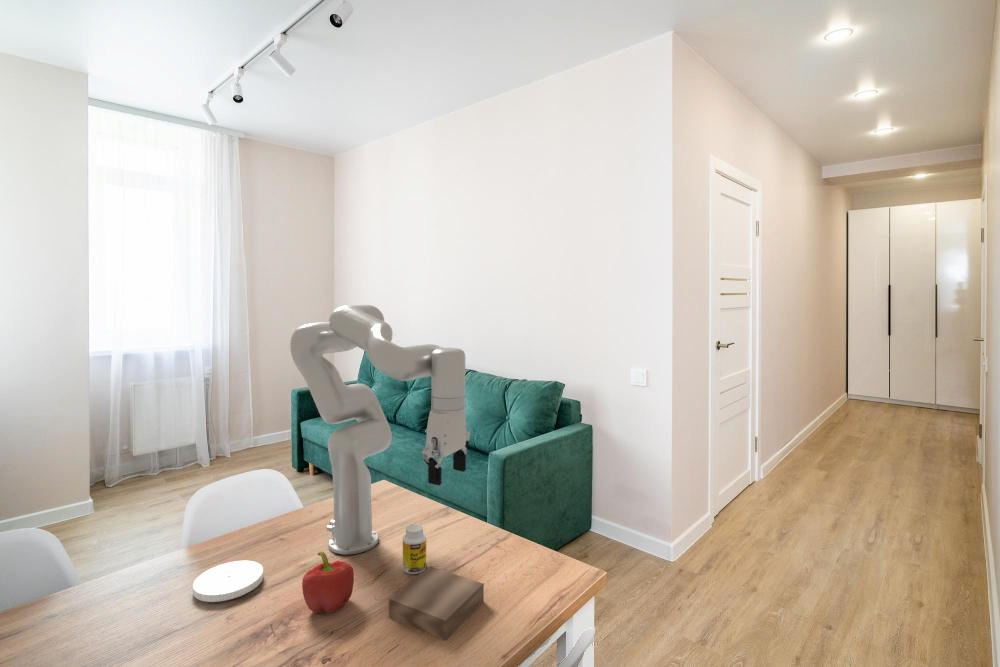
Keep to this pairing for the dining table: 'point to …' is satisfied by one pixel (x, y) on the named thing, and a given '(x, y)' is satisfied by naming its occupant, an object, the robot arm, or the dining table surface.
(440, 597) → the walnut base
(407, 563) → the supplement bottle
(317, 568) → the vegetable
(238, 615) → the dining table surface
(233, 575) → the plastic lid
